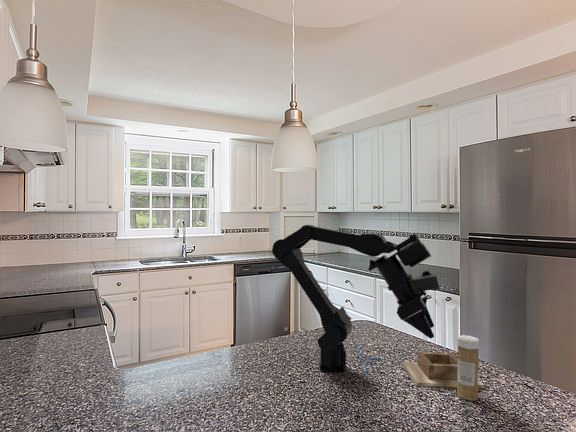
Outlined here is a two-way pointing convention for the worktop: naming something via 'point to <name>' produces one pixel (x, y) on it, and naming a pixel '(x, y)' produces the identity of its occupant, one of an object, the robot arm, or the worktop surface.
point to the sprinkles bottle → (468, 367)
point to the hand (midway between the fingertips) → (432, 332)
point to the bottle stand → (434, 370)
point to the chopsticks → (368, 358)
